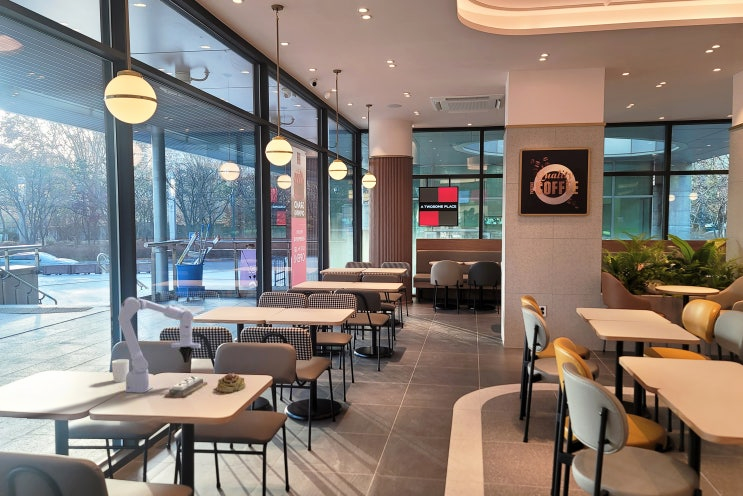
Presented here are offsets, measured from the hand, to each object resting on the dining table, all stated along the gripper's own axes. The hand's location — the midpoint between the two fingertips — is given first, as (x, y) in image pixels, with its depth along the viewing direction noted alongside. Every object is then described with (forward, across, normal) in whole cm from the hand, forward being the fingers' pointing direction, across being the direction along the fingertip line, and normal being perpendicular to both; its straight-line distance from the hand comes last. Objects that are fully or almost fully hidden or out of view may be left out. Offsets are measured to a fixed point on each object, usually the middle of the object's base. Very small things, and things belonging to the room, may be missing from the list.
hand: (186, 362), depth 261 cm
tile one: (+9, -6, +17) cm, 20 cm away
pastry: (+11, -26, +5) cm, 28 cm away
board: (+10, -6, +11) cm, 16 cm away
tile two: (+9, -6, +11) cm, 16 cm away
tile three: (+9, -6, +5) cm, 12 cm away
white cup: (+11, +36, 0) cm, 38 cm away
